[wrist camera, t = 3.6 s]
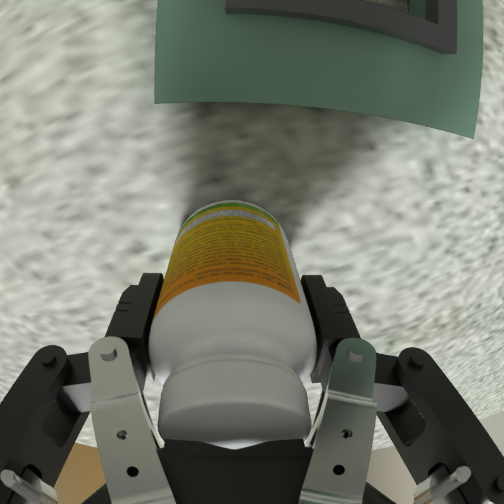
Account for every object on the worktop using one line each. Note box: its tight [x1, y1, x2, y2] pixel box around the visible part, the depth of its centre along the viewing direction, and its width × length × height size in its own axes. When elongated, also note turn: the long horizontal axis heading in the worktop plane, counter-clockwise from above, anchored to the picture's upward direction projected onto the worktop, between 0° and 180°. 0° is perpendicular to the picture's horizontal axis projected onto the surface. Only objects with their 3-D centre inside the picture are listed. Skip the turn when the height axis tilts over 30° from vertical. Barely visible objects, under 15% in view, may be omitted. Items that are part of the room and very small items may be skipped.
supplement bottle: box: [148, 200, 317, 449], centre depth 11 cm, size 5×5×10 cm
